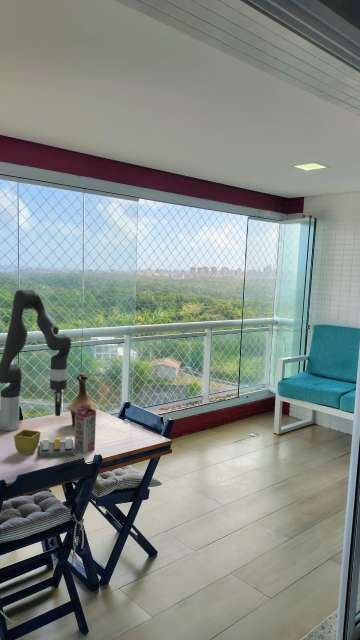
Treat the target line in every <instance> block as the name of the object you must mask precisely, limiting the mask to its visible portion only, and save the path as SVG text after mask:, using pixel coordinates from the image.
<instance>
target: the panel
mask: <svg viewBox="0 0 360 640" xmlns="http://www.w3.org/2000/svg"><path fill="white" fill-rule="evenodd" d="M65 442H66V439H60V449H54V440H49V449H48V450H43V440H39V459H40V458H41V459H42V458H43V459H44V458H45V459H47V458H60V457H61V458H62V457H63V458H64V457H75V450H74V440H73V439H72V445H71V448H70V449H66V448H65Z"/></svg>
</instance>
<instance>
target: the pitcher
mask: <svg viewBox="0 0 360 640" xmlns="http://www.w3.org/2000/svg"><path fill="white" fill-rule="evenodd" d="M76 379H77V381H78V386H79V387H78V389H79V392H78V394H77V397H76V398H75V399H74V400H73V401H72V402H71V403H69V404H67V405H66V409H67V410H69V411H70V416H71V423H72V424H71V425H72V428H75V411H76V410H77V409H78V408H79V407H80V406H81V402H82V403H85V404H89V405H91V409H93V410H95V411H96V410H98V409H99V408H100V406H99V405H98V404H97V403H96V402H94V401H93V400H92V399H91V398H89V396H88V393H87V389H86V388H87V387H86V383H87V381H89V380H90V377H89V376H87V375H85V374H84V373H82V372H80V373H79V376H76Z"/></svg>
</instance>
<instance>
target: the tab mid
mask: <svg viewBox="0 0 360 640" xmlns="http://www.w3.org/2000/svg"><path fill="white" fill-rule="evenodd" d="M53 439H54V449H60V440H61V437H54V438H53Z"/></svg>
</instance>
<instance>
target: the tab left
mask: <svg viewBox="0 0 360 640" xmlns="http://www.w3.org/2000/svg"><path fill="white" fill-rule="evenodd" d="M42 441H43V450H48V449H49V441H50V438H49V437H48V438H47V437H45V438H42Z"/></svg>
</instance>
